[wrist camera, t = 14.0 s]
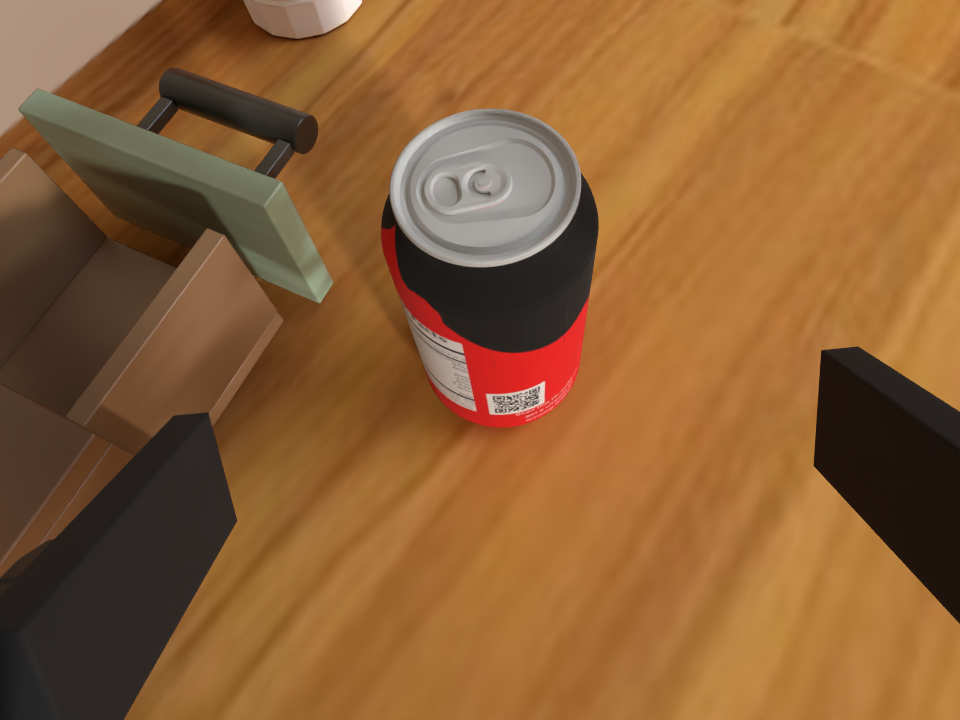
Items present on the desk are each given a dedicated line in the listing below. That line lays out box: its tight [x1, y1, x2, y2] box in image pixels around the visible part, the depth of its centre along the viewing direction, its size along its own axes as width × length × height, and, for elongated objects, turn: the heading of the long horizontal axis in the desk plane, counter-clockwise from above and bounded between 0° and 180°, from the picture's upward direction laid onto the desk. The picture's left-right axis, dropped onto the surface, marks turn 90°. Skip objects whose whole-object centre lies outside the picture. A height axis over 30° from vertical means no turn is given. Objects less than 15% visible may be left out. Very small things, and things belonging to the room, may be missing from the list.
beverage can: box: [381, 109, 598, 427], centre depth 24 cm, size 6×6×12 cm
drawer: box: [0, 68, 333, 455], centre depth 27 cm, size 19×12×7 cm, turn 154°
